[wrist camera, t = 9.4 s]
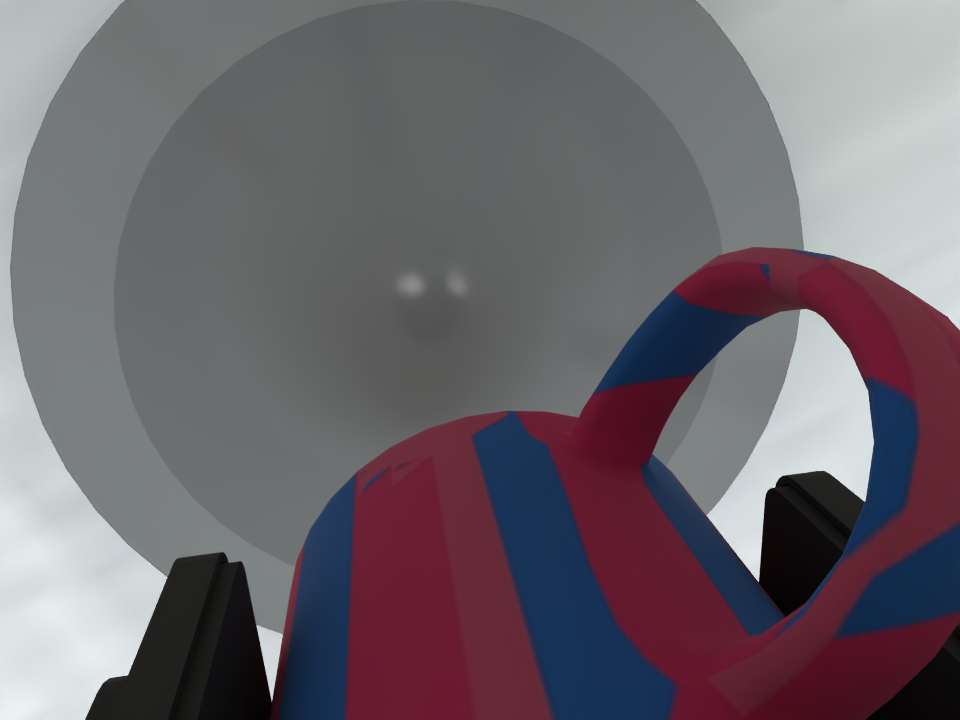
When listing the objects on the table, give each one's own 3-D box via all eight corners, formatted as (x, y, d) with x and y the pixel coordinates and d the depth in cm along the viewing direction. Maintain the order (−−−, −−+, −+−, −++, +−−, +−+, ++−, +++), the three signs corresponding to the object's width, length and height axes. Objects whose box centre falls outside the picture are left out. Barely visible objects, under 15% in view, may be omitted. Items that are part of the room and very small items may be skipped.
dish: (-82, -87, 17) (-117, -102, 16) (812, -121, 20) (842, -135, 19) (129, 673, 25) (117, 704, 24) (759, 578, 27) (778, 601, 26)
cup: (226, 703, 12) (64, 1390, 6) (505, 110, 10) (770, 152, 3) (584, 796, 14) (766, 1400, 7) (898, 315, 11) (1574, 606, 5)
